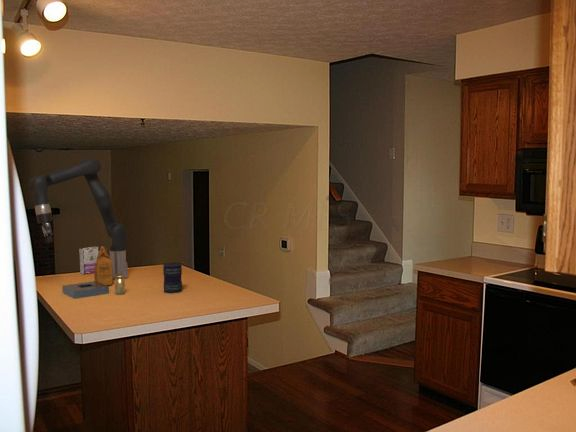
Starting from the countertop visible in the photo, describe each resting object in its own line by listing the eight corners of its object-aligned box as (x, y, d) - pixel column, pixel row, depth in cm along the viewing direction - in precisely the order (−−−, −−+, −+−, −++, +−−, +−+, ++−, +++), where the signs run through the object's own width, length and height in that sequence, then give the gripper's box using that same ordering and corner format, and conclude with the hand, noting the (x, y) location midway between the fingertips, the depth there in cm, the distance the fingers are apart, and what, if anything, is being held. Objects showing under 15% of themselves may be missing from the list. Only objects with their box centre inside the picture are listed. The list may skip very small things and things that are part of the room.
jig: (95, 288, 296) (95, 281, 296) (109, 293, 282) (108, 286, 282) (62, 292, 284) (62, 285, 284) (74, 298, 271) (74, 291, 270)
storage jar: (177, 293, 282) (177, 266, 280) (160, 293, 284) (159, 265, 282) (185, 289, 291) (184, 262, 290) (168, 289, 293) (167, 262, 292)
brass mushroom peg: (123, 292, 285) (122, 274, 284) (127, 294, 281) (127, 275, 280) (112, 293, 282) (112, 275, 281) (117, 295, 277) (116, 276, 277)
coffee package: (111, 282, 313) (110, 245, 311) (114, 286, 301) (113, 247, 300) (93, 283, 309) (92, 245, 307) (95, 287, 297) (94, 248, 296)
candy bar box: (95, 271, 348) (94, 246, 346) (99, 272, 345) (99, 247, 343) (79, 273, 339) (78, 248, 338) (84, 274, 336) (83, 248, 334)
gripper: (53, 211, 282) (58, 241, 283) (49, 213, 295) (55, 241, 295) (37, 213, 279) (43, 243, 279) (34, 215, 291) (40, 244, 291)
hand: (49, 242), depth 287 cm, fingers open, 8 cm apart
